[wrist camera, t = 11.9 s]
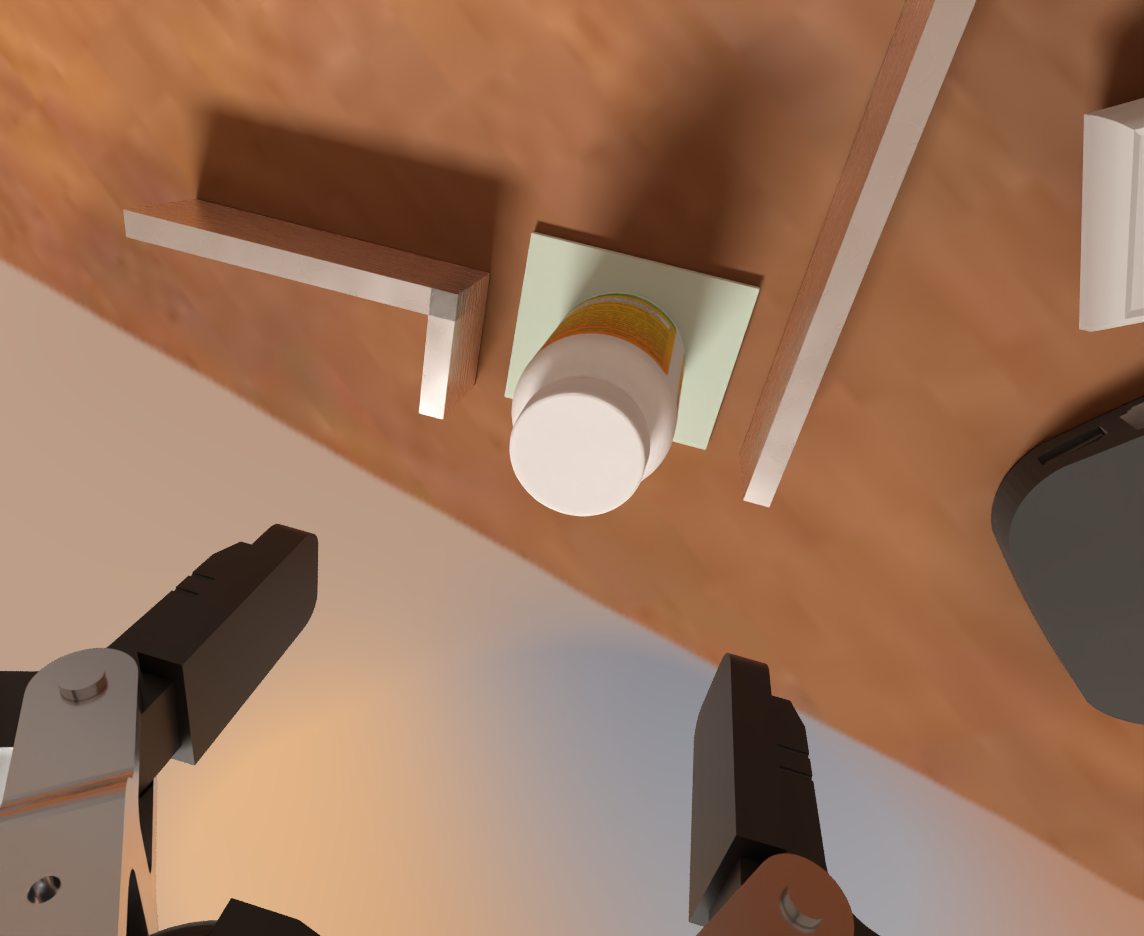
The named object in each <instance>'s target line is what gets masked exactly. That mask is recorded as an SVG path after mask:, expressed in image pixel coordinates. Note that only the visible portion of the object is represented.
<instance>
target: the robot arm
mask: <svg viewBox="0 0 1144 936" xmlns="http://www.w3.org/2000/svg"><path fill="white" fill-rule="evenodd" d="M317 583H318V539H317V536H316V535H315V534H312V533H309V532H305V531H301V530H298V529H294V528H291V527H288V526H284V525H280V524H275V525H273V526H271V527H270V528H269V529H268V530H267V531H266V532H265V533H263V535H261V536H260V537H259V538H258V539H257V540H256V541H255V542H254V543H253V544H252V545H251V544H247V543H244V542H239V543H237V544H234V545H232V546H230V547H228V548H226V549H224V550H222V551H219V552H217V553H215V554H213V555H212V556H210V557H209V558H208V559H207V560H206V561H205V562H204V563H202V564H201V565H200V566H199V567H198V568H197V569H196V570H195V571H193V574H192V576H188V577H187V578H186V579H184V580H183V581H182V582H181V583H180V584H179V585H178V586H176V589H175V591H171V592H170V593H169V594H167V595H166V596H165V597H164V598H163V599H162V600H161V601H159V602H158V603H157V604H156V605H155V606H154V607H153V608H152V609H150V610H149V611H148V612H147V613H146V614H145V615H144V616H142V617H141V618H140V619H139V620H138V621H137V622H136V623H135V624H133V625H132V626H131V627H130V628H129V629H128V630H127V631H125V632H124V633H123V634H122V635H121V636H120V637H119V638H118V639H116V640H115V641H114V642H113V643H112V644H111V645H109V646H108V647H107V648H93V649H86V650H81V651H77V652H74V653H71V654H68V655H65V656H63V657H60V658H58V659H57V660H55V661H53V662H51V663H49V664H48V665H47V666H45V667H44V668H42V669H41V670H40V671H37V672H36V671H35V672H28V671H25V672H23V671H0V936H320V935H319V934H317V933H316V932H315V931H313V930H312V929H310V928H309V927H308V926H307V925H305V924H304V923H302V922H301V921H300V920H297V919H295V918H292V917H288V916H285V915H282V914H279V913H276V912H273V911H270V910H267V909H264V908H261V907H257V906H254V905H251V904H248V903H245V902H242V901H239V900H236V899H233V898H231V899H230V901H229V903H228V904H227V906H226V908H225V909H224V911H223V912H222V914H221V916H220V918H219V919H218V920H209V921H201V922H193V923H187V924H183V925H179V926H174V927H170V928H167V929H164V930H162V931H159V932H158V915H157V904H156V825H157V821H156V819H157V779H156V775H157V774H158V773H159V772H160V771H161V769H162V768H163V767H164V766H165V765H166V764H167V762H168V761H169V760H170V759H171V758H172V759H175V760H179V761H182V762H185V763H189V764H192V765H195V764H196V763H197V762H198V761H199V759H200V758H201V757H202V756H203V754H204V753H205V752H206V751H207V749H208V748H209V747H210V746H211V744H212V743H213V742H214V741H215V739H216V738H217V737H218V735H219V734H220V733H221V732H222V730H223V729H224V728H225V727H226V725H227V724H228V723H229V722H230V720H231V719H232V718H233V717H234V715H235V714H236V713H237V712H238V710H239V709H240V708H241V706H242V705H243V704H244V703H245V701H246V700H247V699H248V698H249V696H250V695H251V694H252V693H253V691H254V690H255V689H256V687H257V686H258V685H259V684H260V683H261V681H262V680H263V679H264V678H265V676H266V675H267V674H268V673H269V671H270V670H271V669H272V668H273V666H274V665H275V664H276V662H277V661H278V660H279V659H280V657H281V656H282V655H283V654H284V652H285V651H286V650H287V649H288V647H289V646H290V645H291V644H292V642H293V641H294V640H295V638H296V637H297V636H298V635H299V633H300V632H301V631H302V630H303V628H304V627H305V626H306V624H307V623H308V621H309V619H310V617H311V615H312V613H313V610H314V608H315V604H316V600H317ZM808 755H809V750H808V743H807V737H806V730H805V726H804V724H803V723H802V721H801V719H800V717H799V716H798V714H797V712H796V710H795V708H794V707H793V705H792V703H791V701H789V700H786V699H782V698H779V697H775V696H772V695H771V685H770V675H769V668H768V666H767V664H765V663H761V662H758V661H754V660H751V659H747V658H744V657H740V656H737V655H733V654H730V653H726V654H725V655H724V657H723V658H722V661H721V663H720V665H719V667H718V670H717V672H716V674H715V677H714V679H713V681H712V684H711V686H710V688H709V691H708V693H707V696H706V698H705V700H704V702H703V704H702V707H701V710H700V712H699V716H698V720H697V724H696V729H695V736H694V758H693V759H694V760H693V793H692V826H691V862H690V863H691V864H690V895H689V922H691V923H694V924H697V925H700V926H704V928H703V929H702V930H701V931H700V932H699V933H698V934H697V935H696V936H879V935H878V934H876V933H875V932H873V931H872V930H871V929H869V928H868V927H866V926H865V925H864V924H863V923H862V922H861V921H860V920H859V919H857V918H856V916H855V915H854V914H853V913H852V911H851V907H850V905H849V903H848V900H847V898H846V897H845V895H844V893H843V891H842V890H841V888H840V887H839V886H838V884H837V883H836V882H835V880H834V879H833V878H832V877H831V876H830V875H829V874H828V872H827V867H826V862H825V856H824V850H823V843H822V836H821V829H820V823H819V816H818V809H817V803H816V797H815V790H814V783H813V781H812V770H811V763H810V759H809V758H808Z"/></svg>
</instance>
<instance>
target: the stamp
mask: <svg viewBox="0 0 1144 936" xmlns="http://www.w3.org/2000/svg"><path fill="white" fill-rule="evenodd" d="M1140 322H1144V98H1142V99H1138V100H1134V101H1131V102H1127V103H1123V104H1120V105H1116V106H1113V107H1109V108H1105V109H1102V110H1098V111H1094V112H1091V113H1087V114H1084V147H1083V189H1082V231H1081V274H1080V316H1079V330H1086V331H1090V332H1092V331H1098V330H1104V329H1109V328H1114V327H1119V326H1125V325H1130V324H1135V323H1140Z"/></svg>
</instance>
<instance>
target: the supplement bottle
mask: <svg viewBox="0 0 1144 936" xmlns="http://www.w3.org/2000/svg"><path fill="white" fill-rule="evenodd" d="M684 366H685V356H684V346H683V341H682V338H681V335H680V333H679V330H678V328H677V327H676V325H675V323H674V322H673V320H672V319H671V318H670V317H669V315H668V314H667V313H666V312H665V311H664V310H663V309H662V308H660V307H659V306H658V305H657V304H655V303H654V302H652V301H651V300H649V299H647V298H645V297H642V296H640V295H637V294H633V293H628V292H607V293H602V294H598V295H595V296H592V297H590V298H588V299H586V300H584V301H583V302H581V303H580V304H578V305H577V306H576V307H575V308H573V309H572V310H571V311H570V312H569V313H568V314H567V315H566V316H565V318H564V319H563V320H562V322H561V323H560V324H559V325H558V327H557V328H556V329H555V331H554V332H553V333H552V334H551V336H550V337H549V338H548V340H547V341H546V342H545V344H544V345H543V346H542V347H541V348H540V350H539V351H538V352H537V354H536V355H535V356H534V357H533V359H532V360H531V361H530V362H529V364H528V365H527V366H526V368H525V370H524V371H523V373H522V375H521V377H520V379H519V381H518V383H517V386H516V389H515V392H514V396H513V402H512V423H513V429H512V433H511V438H510V458H511V463H512V466H513V469H514V472H515V474H516V476H517V478H518V479H519V481H520V483H521V484H522V485H523V487H524V488H525V489H526V490H527V492H528V493H529V494H530V495H531V496H533V497H534V498H535V499H536V500H537V501H539V502H540V503H542V504H543V505H545V506H547V507H548V508H550V509H553V510H555V511H558V512H561V513H565V514H569V515H575V516H591V515H598V514H602V513H605V512H608V511H611V510H613V509H615V508H617V507H618V506H620V505H621V504H623V503H624V502H625V501H627V500H628V499H629V498H630V497H631V496H632V494H633V493H634V492H635V491H636V489H637V488H638V486H639V484H640V482H641V481H642V480H643V479H645V478H646V477H648V476H649V475H650V474H651V473H652V472H653V471H654V470H655V469H656V468H657V467H658V466H659V465H660V464H661V462H662V461H663V460H664V458H665V456H666V455H667V453H668V451H669V449H670V446H671V444H672V441H673V437H674V434H675V430H676V425H677V418H678V410H679V402H680V395H681V388H682V382H683V376H684Z"/></svg>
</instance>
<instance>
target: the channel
mask: <svg viewBox="0 0 1144 936" xmlns="http://www.w3.org/2000/svg"><path fill="white" fill-rule="evenodd" d="M975 2H976V0H906V2H905V5H904V8H903V10H902V13H901V16H900V18H899V21H898V24H897V27H896V29H895V32H894V35H893V38H892V40H891V43H890V46H889V48H888V51H887V54H886V57H885V59H884V62H883V65H882V68H881V70H880V73H879V76H878V78H877V81H876V84H875V87H874V89H873V92H872V95H871V98H870V100H869V103H868V106H867V109H866V111H865V114H864V117H863V119H862V122H861V125H860V128H859V130H858V133H857V136H856V139H855V141H854V144H853V147H852V149H851V152H850V155H849V158H848V160H847V163H846V166H845V169H844V171H843V174H842V177H841V179H840V182H839V185H838V188H837V190H836V193H835V196H834V199H833V201H832V204H831V207H830V209H829V212H828V215H827V218H826V220H825V223H824V226H823V229H822V231H821V234H820V237H819V240H818V242H817V245H816V248H815V250H814V253H813V256H812V259H811V261H810V264H809V267H808V270H807V272H806V275H805V278H804V280H803V283H802V286H801V289H800V291H799V294H798V297H797V300H796V302H795V305H794V308H793V310H792V313H791V316H790V319H789V321H788V324H787V327H786V330H785V332H784V335H783V338H782V340H781V343H780V346H779V349H778V351H777V354H776V357H775V360H774V362H773V365H772V368H771V371H770V373H769V376H768V379H767V381H766V384H765V387H764V390H763V392H762V395H761V398H760V401H759V403H758V406H757V409H756V411H755V414H754V417H753V420H752V422H751V425H750V428H749V431H748V433H747V436H746V439H745V441H744V444H743V447H742V450H741V452H740V467H741V479H742V491H743V500H744V501H748V502H751V503H755V504H759V505H762V506H766V507H770V504H771V502H772V499H773V497H774V494H775V492H776V489H777V487H778V484H779V482H780V480H781V477H782V475H783V472H784V470H785V467H786V465H787V462H788V460H789V458H790V455H791V453H792V450H793V448H794V445H795V443H796V440H797V438H798V436H799V433H800V431H801V428H802V426H803V423H804V421H805V418H806V416H807V413H808V411H809V409H810V406H811V404H812V401H813V399H814V396H815V394H816V391H817V389H818V387H819V384H820V382H821V379H822V377H823V374H824V372H825V369H826V367H827V365H828V362H829V360H830V357H831V355H832V352H833V350H834V347H835V345H836V342H837V340H838V338H839V335H840V333H841V330H842V328H843V325H844V323H845V320H846V318H847V316H848V313H849V311H850V308H851V306H852V303H853V301H854V298H855V296H856V294H857V291H858V289H859V286H860V284H861V281H862V279H863V276H864V274H865V272H866V269H867V267H868V264H869V262H870V259H871V257H872V254H873V252H874V249H875V247H876V245H877V242H878V240H879V237H880V235H881V232H882V230H883V227H884V225H885V223H886V220H887V218H888V215H889V213H890V210H891V208H892V205H893V203H894V201H895V198H896V196H897V193H898V191H899V188H900V186H901V183H902V181H903V178H904V176H905V174H906V171H907V169H908V166H909V164H910V161H911V159H912V156H913V154H914V152H915V149H916V147H917V144H918V142H919V139H920V137H921V134H922V132H923V130H924V127H925V125H926V122H927V120H928V117H929V115H930V112H931V110H932V107H933V105H934V103H935V100H936V98H937V95H938V93H939V90H940V88H941V85H942V83H943V81H944V78H945V76H946V73H947V71H948V68H949V66H950V63H951V61H952V59H953V56H954V54H955V51H956V49H957V46H958V44H959V41H960V39H961V36H962V34H963V32H964V29H965V27H966V24H967V22H968V19H969V17H970V14H971V12H972V10H973V7H974V5H975ZM123 213H124V221H125V230H126V237H128V238H132V239H136V240H140V241H144V242H148V243H152V244H156V245H159V246H163V247H167V248H171V249H175V250H179V251H183V252H187V253H190V254H194V255H198V256H202V257H206V258H210V259H214V260H218V261H221V262H225V263H229V264H233V265H237V266H241V267H245V268H249V269H252V270H256V271H260V272H264V273H268V274H272V275H276V276H280V277H283V278H287V279H291V280H295V281H299V282H303V283H307V284H311V285H314V286H318V287H322V288H326V289H330V290H334V291H338V292H342V293H345V294H349V295H353V296H357V297H361V298H365V299H369V300H373V301H376V302H380V303H384V304H388V305H392V306H396V307H400V308H404V309H407V310H411V311H415V312H419V313H423V314H427V315H429V316H428V326H427V336H426V346H425V356H424V367H423V377H422V387H421V397H420V407H419V413H420V414H424V415H428V416H431V417H435V418H439V419H444V418H445V417H446V416H447V415H448V414H449V413H450V412H451V410H452V409H453V408H454V407H455V406H456V405H457V404H458V403H459V402H460V401H461V399H462V398H463V397H464V396H465V395H466V394H467V393H468V392H469V391H470V390H471V389H472V387H473V386H474V385H475V379H476V372H477V365H478V358H479V351H480V344H481V336H482V329H483V322H484V315H485V308H486V301H487V294H488V286H489V279H490V273H488V272H484V271H480V270H476V269H472V268H468V267H464V266H460V265H457V264H453V263H449V262H445V261H441V260H437V259H433V258H429V257H425V256H421V255H417V254H413V253H409V252H405V251H401V250H397V249H393V248H389V247H385V246H381V245H377V244H373V243H369V242H365V241H361V240H357V239H353V238H349V237H345V236H341V235H337V234H333V233H329V232H326V231H322V230H318V229H314V228H310V227H306V226H302V225H298V224H294V223H290V222H286V221H282V220H278V219H274V218H270V217H266V216H262V215H258V214H254V213H250V212H246V211H242V210H238V209H234V208H230V207H226V206H222V205H218V204H214V203H210V202H206V201H202V200H198V199H192V200H185V201H178V202H171V203H164V204H157V205H150V206H143V207H136V208H129V209H123Z"/></svg>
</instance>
